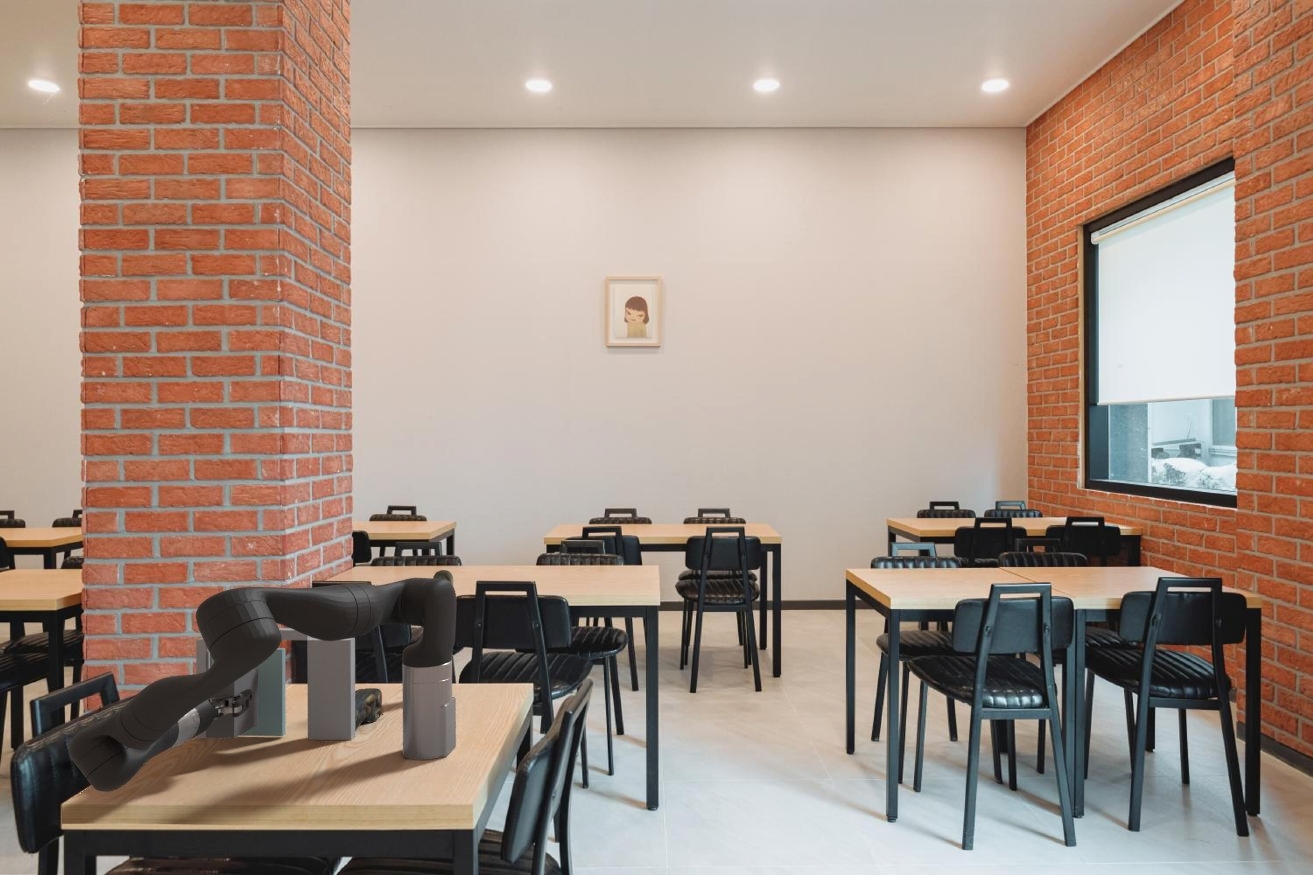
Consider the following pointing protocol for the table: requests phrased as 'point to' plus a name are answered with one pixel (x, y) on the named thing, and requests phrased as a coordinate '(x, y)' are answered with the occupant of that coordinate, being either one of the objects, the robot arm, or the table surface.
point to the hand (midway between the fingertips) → (234, 694)
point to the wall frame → (318, 684)
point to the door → (270, 696)
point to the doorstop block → (247, 720)
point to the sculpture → (367, 705)
